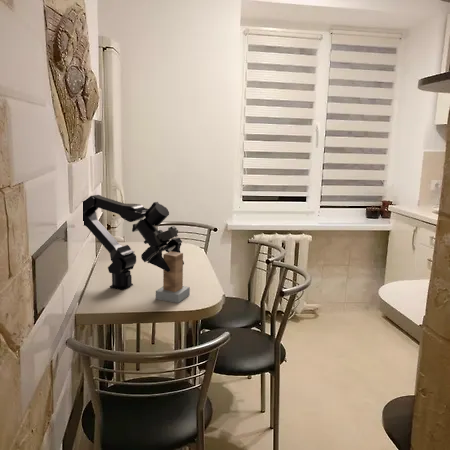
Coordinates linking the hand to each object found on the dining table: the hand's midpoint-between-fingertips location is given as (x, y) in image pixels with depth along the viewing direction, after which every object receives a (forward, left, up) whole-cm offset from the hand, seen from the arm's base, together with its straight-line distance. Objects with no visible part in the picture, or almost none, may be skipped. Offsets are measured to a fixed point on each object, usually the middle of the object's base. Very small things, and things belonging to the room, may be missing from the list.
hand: (176, 267), depth 158 cm
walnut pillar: (-1, 0, -8) cm, 8 cm away
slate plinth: (-1, 0, -11) cm, 11 cm away
